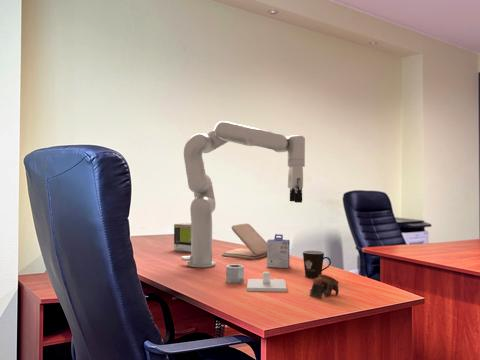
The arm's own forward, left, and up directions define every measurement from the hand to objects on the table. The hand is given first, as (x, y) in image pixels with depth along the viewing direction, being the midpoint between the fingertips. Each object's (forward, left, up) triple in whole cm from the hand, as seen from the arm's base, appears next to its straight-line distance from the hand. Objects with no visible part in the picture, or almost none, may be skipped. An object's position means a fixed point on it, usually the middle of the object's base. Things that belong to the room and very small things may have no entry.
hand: (295, 201), depth 199 cm
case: (-22, +33, -30) cm, 50 cm away
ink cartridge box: (-7, +3, -30) cm, 31 cm away
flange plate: (-13, -35, -30) cm, 48 cm away
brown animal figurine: (+6, -47, -30) cm, 56 cm away
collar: (-25, -28, -30) cm, 48 cm away
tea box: (-54, +45, -30) cm, 77 cm away
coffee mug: (+7, -18, -30) cm, 35 cm away
